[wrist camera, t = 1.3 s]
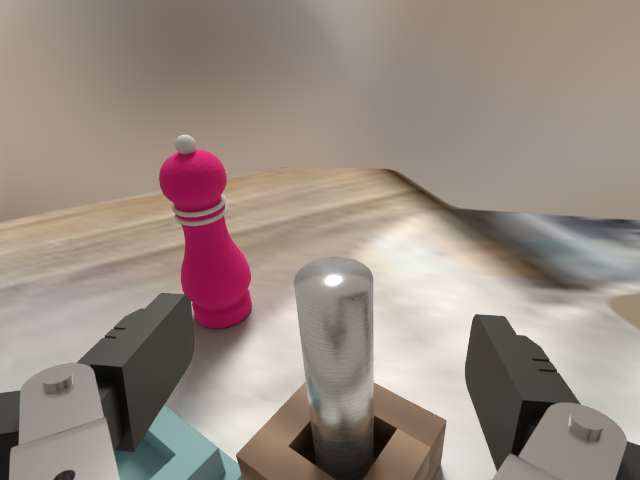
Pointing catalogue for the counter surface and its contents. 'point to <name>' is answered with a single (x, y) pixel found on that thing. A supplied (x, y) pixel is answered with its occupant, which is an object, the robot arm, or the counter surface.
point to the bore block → (389, 442)
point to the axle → (338, 362)
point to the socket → (175, 454)
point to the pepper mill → (206, 236)
